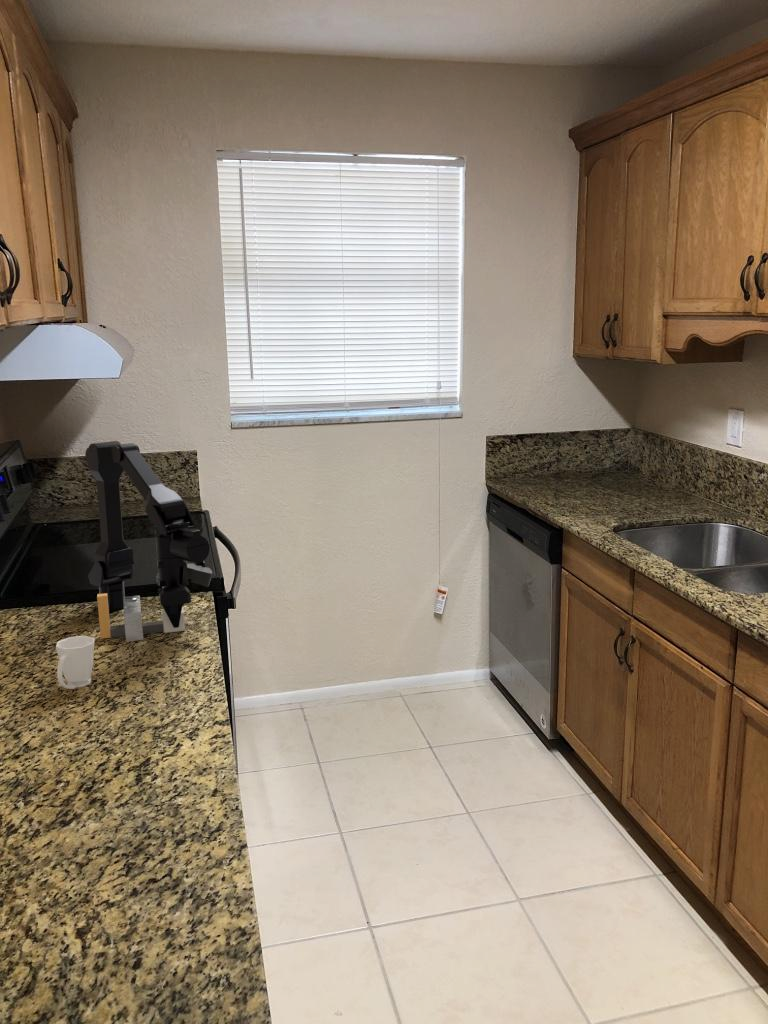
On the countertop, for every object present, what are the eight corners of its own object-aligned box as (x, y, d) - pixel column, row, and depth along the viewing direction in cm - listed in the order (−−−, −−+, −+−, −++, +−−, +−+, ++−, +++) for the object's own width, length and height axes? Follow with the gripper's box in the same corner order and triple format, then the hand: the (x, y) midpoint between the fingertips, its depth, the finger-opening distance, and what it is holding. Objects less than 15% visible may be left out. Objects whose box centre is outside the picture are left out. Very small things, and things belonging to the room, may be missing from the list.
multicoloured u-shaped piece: (100, 640, 174) (97, 598, 173) (101, 634, 178) (97, 592, 176) (185, 630, 180) (182, 589, 178) (184, 624, 183) (181, 584, 181)
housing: (126, 641, 174) (123, 612, 173) (125, 623, 185) (123, 596, 184) (143, 639, 175) (140, 610, 174) (141, 621, 186) (139, 594, 185)
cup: (105, 676, 156) (102, 635, 154) (80, 698, 146) (75, 655, 145) (71, 674, 157) (67, 634, 155) (43, 696, 147) (38, 654, 146)
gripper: (213, 562, 171) (217, 633, 174) (204, 542, 189) (208, 607, 192) (157, 567, 168) (163, 640, 171) (154, 546, 185) (159, 612, 189)
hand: (175, 624), depth 181 cm, fingers closed on multicoloured u-shaped piece, 4 cm apart
